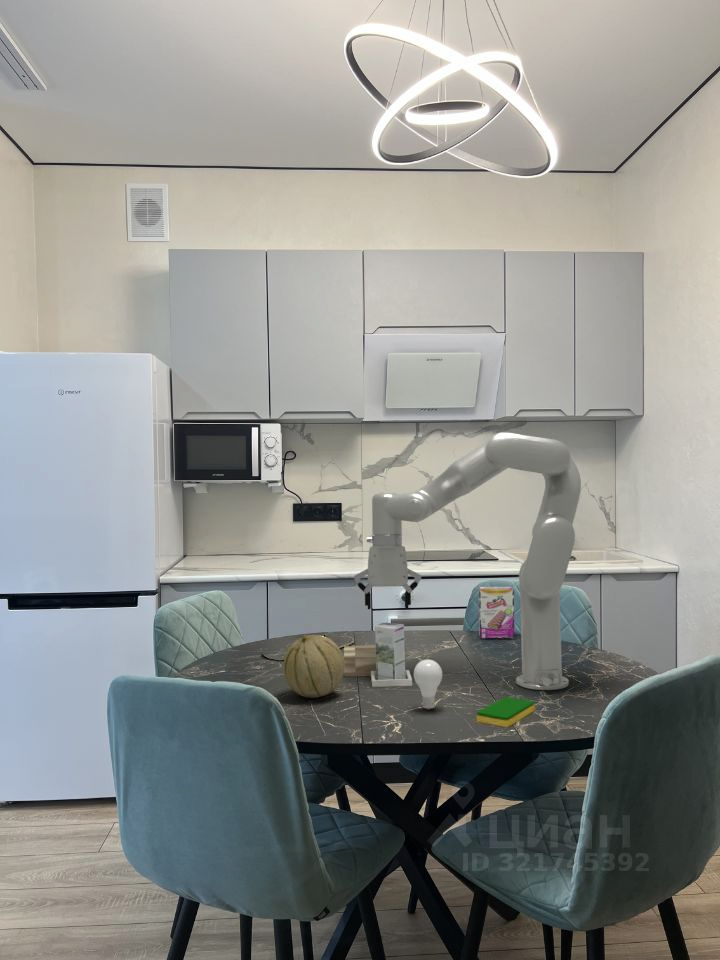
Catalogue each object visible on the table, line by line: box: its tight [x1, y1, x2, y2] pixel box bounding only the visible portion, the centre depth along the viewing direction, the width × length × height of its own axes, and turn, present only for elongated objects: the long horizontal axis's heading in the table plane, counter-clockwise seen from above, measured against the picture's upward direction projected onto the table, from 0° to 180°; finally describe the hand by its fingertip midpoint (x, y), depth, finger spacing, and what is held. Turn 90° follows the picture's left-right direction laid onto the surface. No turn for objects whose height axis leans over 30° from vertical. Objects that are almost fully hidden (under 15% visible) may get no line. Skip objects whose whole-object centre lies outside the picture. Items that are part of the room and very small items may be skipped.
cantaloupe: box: [282, 634, 345, 699], centre depth 177 cm, size 15×15×15 cm
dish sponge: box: [476, 696, 536, 728], centre depth 159 cm, size 7×14×2 cm, turn 143°
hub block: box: [343, 644, 376, 677], centre depth 203 cm, size 14×14×5 cm
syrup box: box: [374, 622, 407, 680], centre depth 190 cm, size 6×6×14 cm
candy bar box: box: [478, 586, 515, 639], centre depth 239 cm, size 11×5×16 cm, turn 84°
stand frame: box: [370, 669, 413, 688], centre depth 190 cm, size 10×10×2 cm
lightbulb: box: [413, 659, 443, 711], centre depth 165 cm, size 6×6×11 cm
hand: (387, 608), depth 190 cm, fingers open, 9 cm apart
